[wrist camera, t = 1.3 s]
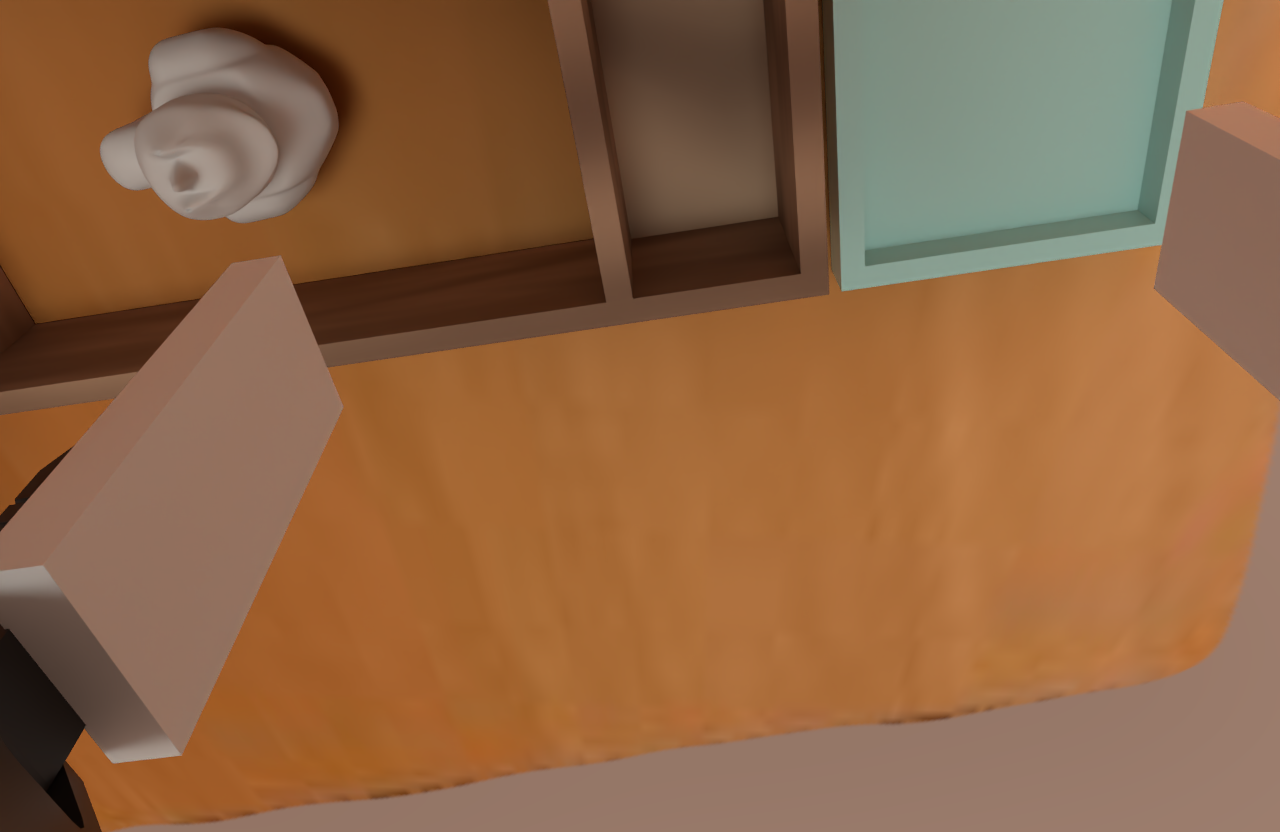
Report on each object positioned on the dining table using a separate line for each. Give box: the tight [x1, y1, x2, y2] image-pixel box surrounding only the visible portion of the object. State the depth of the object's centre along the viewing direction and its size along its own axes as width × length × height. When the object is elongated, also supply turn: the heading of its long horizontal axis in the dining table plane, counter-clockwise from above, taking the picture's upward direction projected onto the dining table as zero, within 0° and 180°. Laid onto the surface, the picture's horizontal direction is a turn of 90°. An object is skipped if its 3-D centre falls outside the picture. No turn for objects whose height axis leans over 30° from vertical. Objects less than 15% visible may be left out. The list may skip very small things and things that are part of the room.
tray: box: [822, 0, 1224, 291], centre depth 27 cm, size 13×11×2 cm
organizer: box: [0, 0, 829, 415], centre depth 26 cm, size 14×28×5 cm, turn 99°
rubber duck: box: [100, 27, 339, 223], centre depth 25 cm, size 5×7×8 cm
